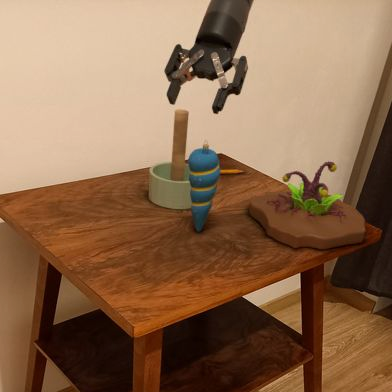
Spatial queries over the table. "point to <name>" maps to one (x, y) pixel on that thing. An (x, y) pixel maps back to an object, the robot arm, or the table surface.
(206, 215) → the ornament
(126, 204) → the table surface
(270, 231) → the plant
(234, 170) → the pencil
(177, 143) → the stick
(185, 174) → the bowl
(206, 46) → the robot arm
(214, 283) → the table surface
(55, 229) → the table surface
